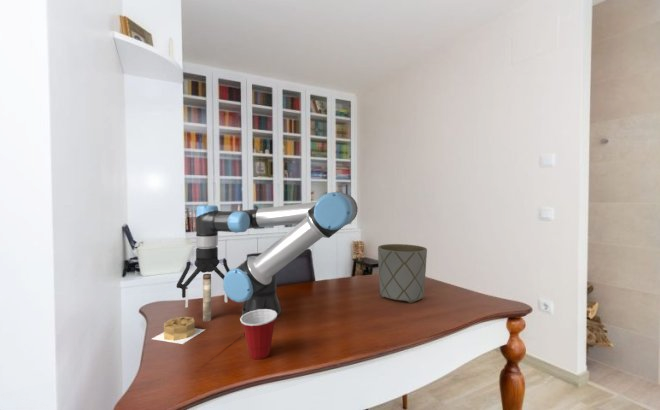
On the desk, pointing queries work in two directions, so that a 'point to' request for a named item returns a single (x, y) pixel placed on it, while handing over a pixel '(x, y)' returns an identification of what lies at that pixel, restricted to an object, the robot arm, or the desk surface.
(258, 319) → the plastic cup
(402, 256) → the planter
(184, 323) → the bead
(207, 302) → the stone peg
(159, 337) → the mat
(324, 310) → the desk surface
